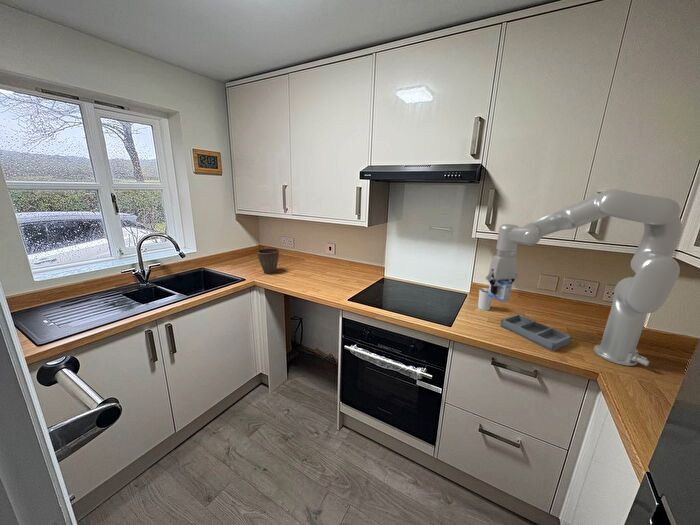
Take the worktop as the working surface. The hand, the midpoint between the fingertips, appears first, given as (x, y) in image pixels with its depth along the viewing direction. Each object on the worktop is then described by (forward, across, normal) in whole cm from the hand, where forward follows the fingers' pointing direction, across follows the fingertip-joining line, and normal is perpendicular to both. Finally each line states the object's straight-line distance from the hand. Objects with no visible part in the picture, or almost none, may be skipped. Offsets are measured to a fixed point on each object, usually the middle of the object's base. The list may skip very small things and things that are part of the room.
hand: (499, 292), depth 126 cm
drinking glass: (+17, -8, -19) cm, 27 cm away
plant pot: (+15, +108, -97) cm, 147 cm away
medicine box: (+3, 0, 0) cm, 3 cm away
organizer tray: (+17, -12, +9) cm, 23 cm away
